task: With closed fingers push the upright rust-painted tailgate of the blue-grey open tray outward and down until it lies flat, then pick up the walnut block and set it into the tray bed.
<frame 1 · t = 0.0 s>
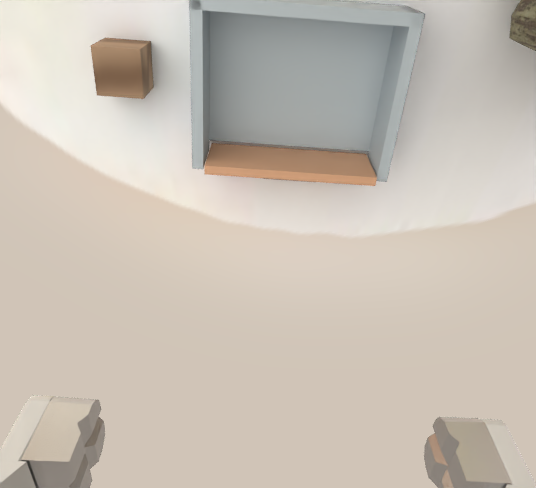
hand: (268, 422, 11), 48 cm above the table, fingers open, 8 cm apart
tailgate: (289, 165, 54), point 5 cm above the table, hinge at 0.0°
walnut block: (130, 63, 52), on the table
blue-grey open tray: (295, 75, 53), on the table
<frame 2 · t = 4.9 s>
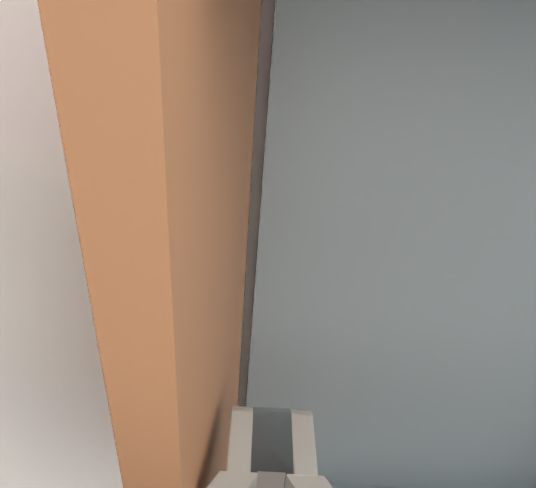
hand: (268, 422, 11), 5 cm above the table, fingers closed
tailgate: (194, 394, 12), point 5 cm above the table, hinge at 5.9°, touching gripper
blue-grey open tray: (485, 297, 16), on the table
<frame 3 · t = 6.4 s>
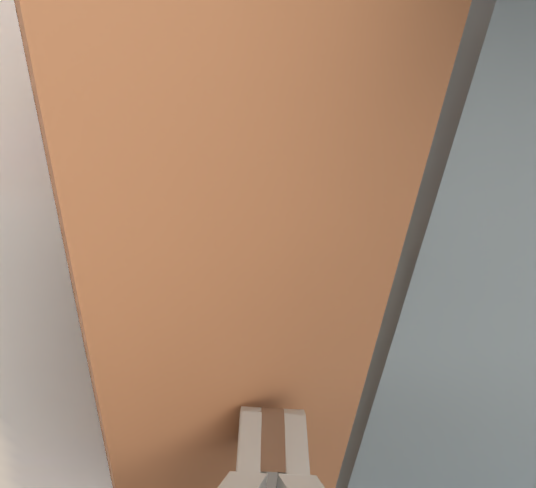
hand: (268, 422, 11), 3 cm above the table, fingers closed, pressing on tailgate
tailgate: (245, 390, 12), point 3 cm above the table, hinge at 63.2°, touching gripper
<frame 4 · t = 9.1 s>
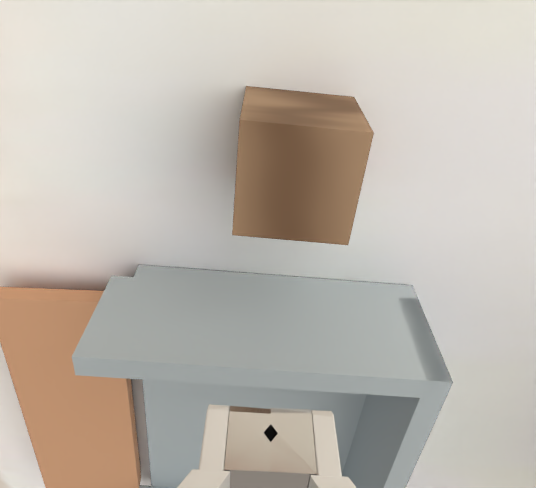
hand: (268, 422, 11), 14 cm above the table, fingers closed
tailgate: (79, 401, 31), point 1 cm above the table, hinge at 86.9°
walnut block: (293, 142, 23), on the table
blue-grey open tray: (261, 399, 33), on the table
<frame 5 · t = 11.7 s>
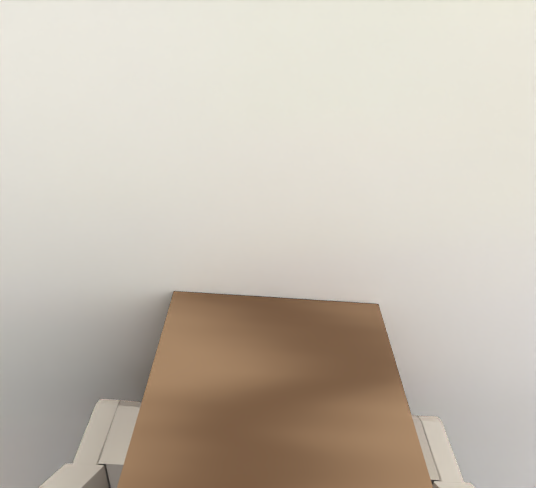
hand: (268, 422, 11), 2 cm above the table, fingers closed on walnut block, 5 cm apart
walnut block: (269, 368, 13), on the table, touching gripper
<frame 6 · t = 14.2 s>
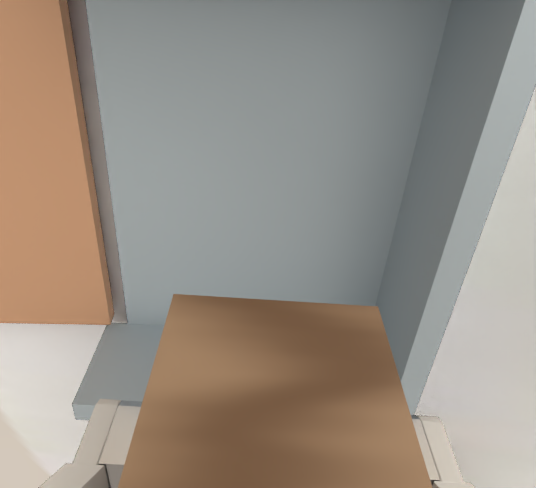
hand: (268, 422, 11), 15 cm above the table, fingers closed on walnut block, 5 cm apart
tailgate: (18, 170, 23), point 1 cm above the table, hinge at 86.9°
walnut block: (268, 371, 13), point 13 cm above the table, touching gripper
blue-grey open tray: (269, 176, 24), on the table
when the fingers open (4 cm above the table, at t = 16.7 s): walnut block drops 1 cm, resting on blue-grey open tray.
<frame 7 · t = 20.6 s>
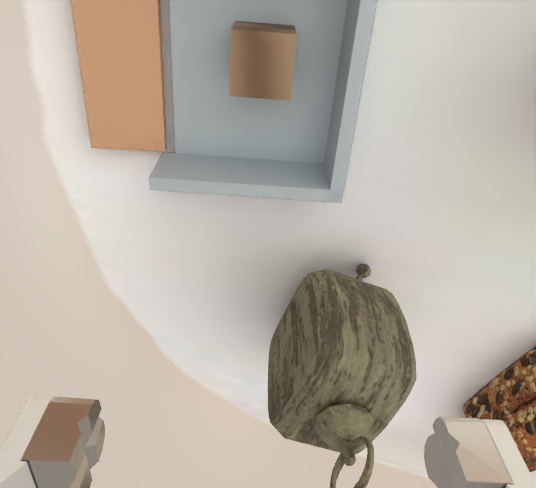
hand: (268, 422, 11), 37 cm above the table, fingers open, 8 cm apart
bread: (528, 378, 65), on the table
tailgate: (120, 42, 40), point 1 cm above the table, hinge at 86.9°
tabletop clock: (321, 291, 56), on the table
walnut block: (263, 54, 40), point 1 cm above the table, touching blue-grey open tray
blue-grey open tray: (262, 51, 41), on the table
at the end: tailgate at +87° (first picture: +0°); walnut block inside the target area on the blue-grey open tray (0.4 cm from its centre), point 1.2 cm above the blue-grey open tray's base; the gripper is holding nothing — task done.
